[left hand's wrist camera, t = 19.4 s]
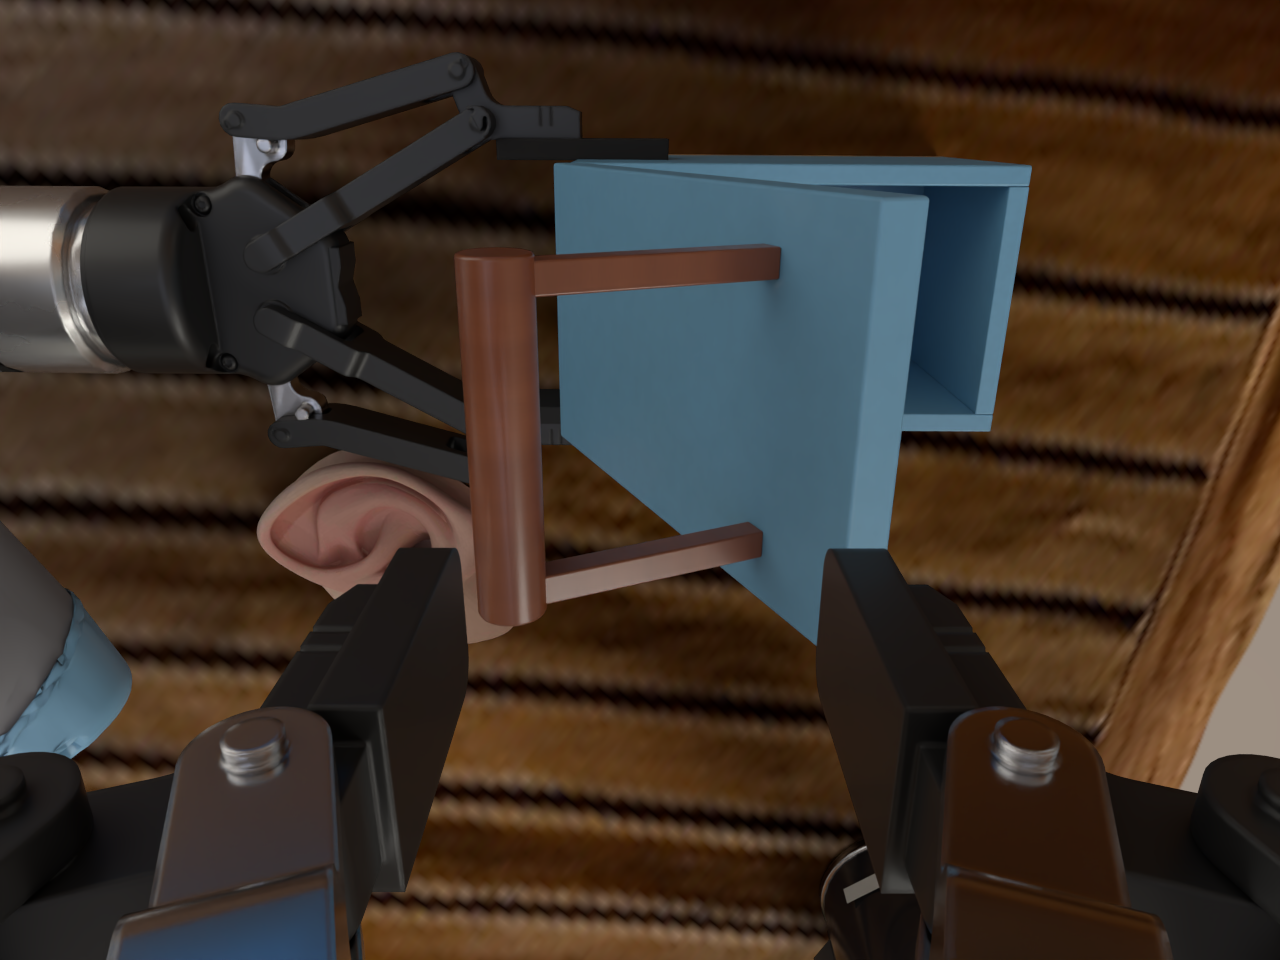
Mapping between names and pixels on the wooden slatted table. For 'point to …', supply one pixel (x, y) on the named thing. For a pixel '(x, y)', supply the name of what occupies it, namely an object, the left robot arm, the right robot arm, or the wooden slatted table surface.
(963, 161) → the chest
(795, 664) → the wooden slatted table surface
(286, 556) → the anatomical model
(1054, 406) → the wooden slatted table surface
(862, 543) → the lid
